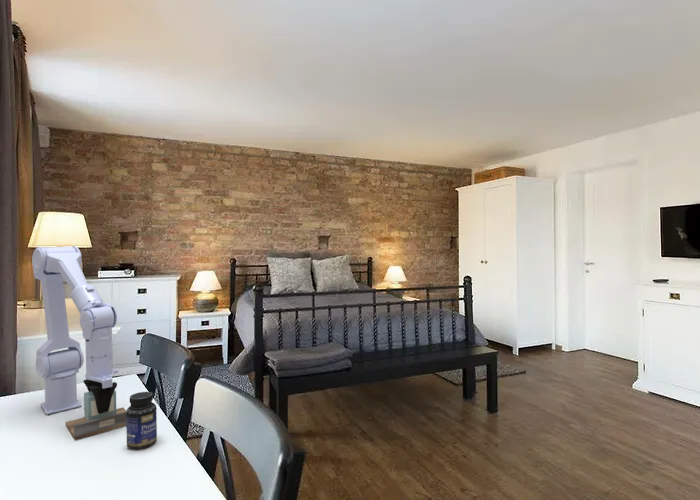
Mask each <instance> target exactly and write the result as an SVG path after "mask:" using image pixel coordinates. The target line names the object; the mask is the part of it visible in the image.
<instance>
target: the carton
mask: <svg viewBox="0 0 700 500" xmlns="http://www.w3.org/2000/svg"><path fill="white" fill-rule="evenodd" d="M83 400H84V401H83V406H84V407H83V410H84V417H85V418H86V419H87V421H90V420H94V419H98V418H102V417H106V416H109V415H113V414H117V413H116V409H117V391H116V389H115V390H114V392H113V395H112V398H111V402H110V407H109V411H108V412H105V413H101V414H99V413H98V411H97V407H96V402H95V398H94V395H93V393H92V391H90V392H89V391H86V392H83Z"/></svg>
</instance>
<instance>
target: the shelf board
mask: <svg viewBox="0 0 700 500" xmlns="http://www.w3.org/2000/svg"><path fill="white" fill-rule="evenodd" d="M126 411H127V409H126V408H124V407H118V408H116V413H117V414H113V415H109V416H106V417H102V418H98V419H94V420H90V421H87V419H86V418H85V416H84V417H79V418H76V419H73V420H68V421H65V427H66V428H67V430H68V432H69V433H70V435H71V436H72V437H73V439H74V441H78V440H82V439H86V438H89V437H91V436H95V435H96V436H97V435H100V434H102V433H106V432H109V431H113V430H117V429H120V428H124V427H126Z"/></svg>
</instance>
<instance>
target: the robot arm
mask: <svg viewBox="0 0 700 500" xmlns="http://www.w3.org/2000/svg"><path fill="white" fill-rule="evenodd" d="M82 260H83V259H82V252H81V250H80V249H79V247H78V246H76V245H74V246H72V245H71V246H52V247H51V246H49V247H48V246H47V247H46V246H45V247H43V246H38V247H35V249H34V250H33V254H32V257H31V263H32V271H33V276H34V279H36V280H39V281H40V283H41V292H42V300H43V302H42V303H43V309H44V317H45V327H46V335H47V336H46V338H47V340H46V341H45V342H44V343H43V344H42V345H41V346H39V348H37V350H36V351H35V352H36V360H35V370H36V373H37V375H38V376H39V377H40V378H41V379H42V378H43V379H44V402H41V403H40V407H41V408H42V410H43V412H44V414H45V415H51V414H55V413H59V412H64V411H68V410H72V409H77V408H79V407H82V404H81V402H80V401H79V400H78V393H77V392H78V391H77V390H78V389H77V373H79V371H80V369H81V368H82V367H83V365H84V362H85V375H84V378H85V379H84V380H83V381H82V382H83V384H84V385H85V387H86V389H87V392H90V391H92V393H93V395H94V398H95V402H96V407H97V411H98V413H99V414H101V413H105V412H108V411H109V407H110V402H111V398H112V395H113V392H114V390H115V391H116V388H117V387H118V382H116V381H114V382H113V377H114V375H115V374H118V373H119V369H117V368H114V363H113V362H114V359H113V355H114V354H113V352H114V351H113V328H114V327H115V326H116V325H117V322H118V315H117V311H116V309H115V307H114V306H113V305H112V304H109V303H108V302H105V301H104V299H103V298H102V296H101V295H100V293H99V292H98V289H97V288H96V287H95V285H93V284H89V283H88V281H87V278H86V277H85V275H84V272H83V270H82V268H81V265H82ZM64 281H65V282H66V283H67V285H68V286H69V287H70V288H71V289H70V290H72V291H71V294H70V299H71V300H72V302H73V304H74V306H75V307H76V309H77V310H78V312H79V314H80V316H79V325H80V328H81V333H82V337H83V339H84V340H85V341H84V342H85V344H84V345H85V357H84V353H83V350H82V348H81V343H80V341H77V340H75V339H73V338H71V337H70V329H69V323H68V314H67V304H66V303H67V302H66V298H65V297H66V296H65V295H66V294H65V288H64ZM57 350H58V351H57Z"/></svg>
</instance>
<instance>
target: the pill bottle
mask: <svg viewBox="0 0 700 500" xmlns="http://www.w3.org/2000/svg"><path fill="white" fill-rule="evenodd" d="M153 399H154V393H153V392H150V391H140V392H136V393H133V394H131V395H130V396H129V404H130V406H128V408H127V409H126V426H125V427H126V429H125V430H126V447H127V448H128V449H130V450H136V451H137V450H138V451H140V450H144V449H147V448H150V447H152V446H154V445H155V444H156V443H157V440H158V439H157V438H158V425H157V424H158V423H157V420H158V419H157V405H156V404H155V403H154V402H153Z"/></svg>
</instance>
